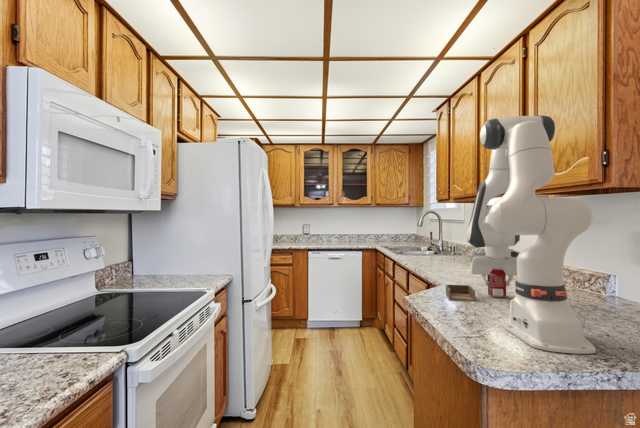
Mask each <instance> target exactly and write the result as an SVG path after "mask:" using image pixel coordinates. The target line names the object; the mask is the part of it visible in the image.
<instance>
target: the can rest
mask: <svg viewBox="0 0 640 428" xmlns="http://www.w3.org/2000/svg"><path fill="white" fill-rule="evenodd" d="M445 296H446V297H447V298H448V301H456V302H457V301H459V302H476V290H475V289H474V288H473V287H472V286H471V285H469V284H467V285H466V284H464V285H463V284H445Z"/></svg>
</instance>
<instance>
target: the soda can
mask: <svg viewBox="0 0 640 428" xmlns="http://www.w3.org/2000/svg"><path fill="white" fill-rule="evenodd" d="M486 279H487V280H488V281H489V285H487V295H488V296H490V297H492V298H497V299H502V298H505V297H507V286H506V281H507V275H506V274H505V272H504V271H503V269H493V268H492V271H491V272H490V275H486Z"/></svg>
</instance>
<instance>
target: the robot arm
mask: <svg viewBox="0 0 640 428" xmlns="http://www.w3.org/2000/svg"><path fill="white" fill-rule="evenodd" d="M555 132H556V124H555V121H554V120H553V118H552V117H551V116H548V115H542V114H541V115H540V114H538V115H521V116H519V115H513V116H507V117H505V116H504V117H500V118H492V119H489V120H485V122H484V123H483V124H482V126H481V129H480V131H479V139H480V143H481V146H482V147H483V148H485V149H486V150H491V155H490V160H489V171H488V175H487V177H486V178H485V180H484V181H482V182H481V183H480V184H479V185H478V189H477V192H476V195H475V199H474V204H473V207H472V213H471V217H470V221H469V224H468V225H467V226H468V227H467V228H466V229H467V230H466V241H467V243H469V244H470V245H471V246H472V247H474V248H484V251H480V252H474V251H473V252H472V253H470V255H469V261H470V265H469V266H470V267H469V271H470V273H471V274H473V275H481V277H482V279H483V281H484V285H485V286H488V285H489V281H488V279H487V275H490V272H491V271H492V268H493V269H503V271H504V272H505V274H506V276H507V277H508V279H506V287H510V286H511V282H512V280H513V279H514V276H516V280H515V282H514V283H515V284H514V288H515V290H514V291H515V294H516V295H515V296H514V297H513V298H512V299H511V300H510V305H509V323H505V324H504V325H503V327H504V328H503V329H505V330H506V331H508V332H509V333H510V334H512V335H513V336H515V337H517V338H518V339H520V340H521V341H522V342H524V343H526V344H527V345H528V346H531V347H532V348H534V349H539V350H543V351H547V352H548V351H549V352H555V353H565V354H580V355H581V354H583V355H586V354H587V355H588V354H595V353H597V349H596V347H595V346H594V345H593V344H592V343H591V342H590V341H589V340H588V339H587V338H586V337H585V335H584V333H583V329H584V328H585V327H586V322H585V319H583V318H578V316H577V313H576V310H573V308H572V307H571V305H570V304H569V302H568V299H569V298H568V294H567V289H566V286H565V284H564V260H565V256H566V252H567V250H568V249H569V247H570V245H571V244H572V242H573V241H574V240H575V239H576V238H577V237H578V236H580V235H582V234H583V233H585V232H586V231H587V230H588V229H589V228H590V226H591V224H592V222H593V220H594V217H593V216H594V214H593V210H592V209H591V206H590V205H589V203H587V202H586V201H585V200H583V199H579V198H573V197H564V196H563V197H562V196H561V197H559V196H558V197H556V196H555V197H537V196H536V190H538V189H540V188H543V187H545V186H546V185H548V184H549V183H550V182H552V180H553V179H554V177H555V166H554V159H553V153H552V147H551V146H552V145H551V144H550V143H551V142H552V140H553V139H554V138H555ZM502 194H503V195H502ZM500 195H502V196H501V198H499V199H498V200H496V201H495V202H494V203H493V204H491V206H490V209H489V211H488V214H487V215H486V211H487V207H488V206H487V205H488V204H489V202H490V201H491V200H492V199H494V198H495V197H498V196H500ZM485 215H486V216H485ZM521 236H537V238H536V241H535V243H533V245H531V246H530V247H526V248H524V249H523V250H521V251H518V250H514V249H512V248H509V247H513V246H516V245H517V244H518V243H519V242H520V239H521V238H520V237H521Z"/></svg>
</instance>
